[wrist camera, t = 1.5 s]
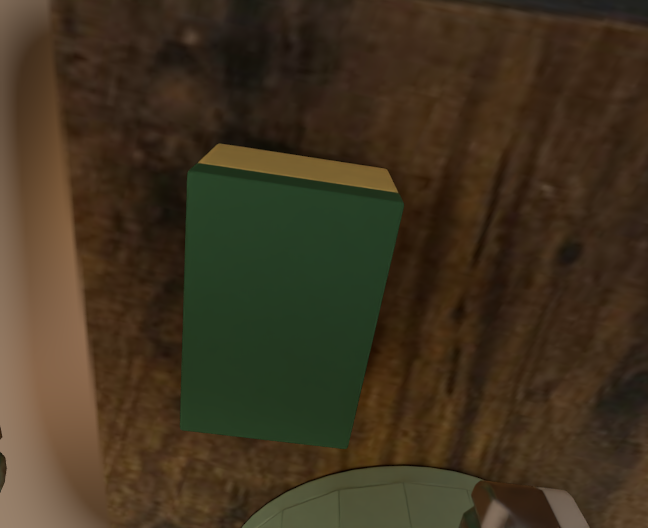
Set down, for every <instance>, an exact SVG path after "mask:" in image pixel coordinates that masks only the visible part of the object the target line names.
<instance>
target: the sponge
mask: <svg viewBox="0 0 648 528" xmlns="http://www.w3.org/2000/svg"><path fill="white" fill-rule="evenodd" d="M403 208H404V203H403V200H402V198H401V196H400V194H399V193H398V191H397V189H396V187H395V185H394V183H393V180H392V178H391V176H390V174H389V172H388V170H387V169H384V168H378V167H371V166H364V165H358V164H351V163H345V162H338V161H332V160H325V159H318V158H312V157H305V156H299V155H292V154H286V153H279V152H273V151H266V150H259V149H253V148H246V147H240V146H233V145H227V144H217V145H216V146H215V147H214V148H213V149H212V150H211V151H210V152H209V153H208V154H207V155H205V156H204V157H203V158H202V159H201V160H200V161H199V162H198V163H197V164H195V165H194V166H193V167H192V168H191V169H190V170H189V171H188V173H187V199H186V233H185V267H184V302H183V336H182V370H181V405H180V429H181V430H184V431H193V432H202V433H210V434H219V435H228V436H236V437H245V438H254V439H262V440H271V441H280V442H288V443H297V444H306V445H314V446H323V447H332V448H340V449H347V447H348V444H349V440H350V436H351V432H352V427H353V423H354V419H355V414H356V410H357V406H358V402H359V397H360V393H361V389H362V384H363V380H364V376H365V371H366V367H367V363H368V359H369V354H370V350H371V346H372V341H373V337H374V333H375V329H376V324H377V320H378V316H379V311H380V307H381V303H382V299H383V294H384V290H385V286H386V281H387V277H388V273H389V269H390V264H391V260H392V256H393V251H394V247H395V243H396V238H397V234H398V230H399V226H400V221H401V217H402V213H403Z"/></svg>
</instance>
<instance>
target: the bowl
mask: <svg viewBox="0 0 648 528" xmlns="http://www.w3.org/2000/svg"><path fill="white" fill-rule="evenodd" d="M480 480H482V479H480V478H477V477H473V476H470V475H466V474H463V473H459V472H455V471H449V470H443V469H437V468H431V467H417V466H380V467H372V468H364V469H356V470H350V471H346V472H342V473H337V474H333V475H329V476H326V477H323V478H320V479H317V480H314V481H311V482H308V483H305V484H303V485H301V486H299V487H296V488H294V489H292V490H290V491H288V492H286V493H284V494H282V495H281V496H279V497H277V498H276V499H274V500H272V501H271V502H269V503H268V504H266V505H265V506H264V507H263V508H261V509H260V510H259V511H258V512H256V513H255V514H254V515H253V516H252V517H251V518H250V519H249V520H248V521H247V522H246V523H245V524H244V525H243V526H242V527H241V528H459V524H460V521H461V519H462V516H463V513H464V512H466V511H467V510H469V509H470V508H472V507H473V506H474V504H473V501H472V498H471V493H472V491H473V489H474V486H475V485H476V484H477V483H478V482H479V481H480ZM484 481H485V480H484Z"/></svg>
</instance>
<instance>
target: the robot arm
mask: <svg viewBox="0 0 648 528" xmlns="http://www.w3.org/2000/svg"><path fill="white" fill-rule="evenodd" d="M1 438H2V433H1V428H0V439H1ZM6 469H7V468H6V460H5V457H4V455H2V453H1V452H0V492H1V489H2V487H3V485H4V482H5V475H6ZM471 498H472V501H473V504H474V506H473V507H472V508H470V509H469V510H467V511H466V512H464V513H463V516H462V519H461V521H460V524H459V528H590V527H589V526H588V524H587V522H586V520H585V518H584V517H583V515H582V513H581V511H580V510H579V508H578V506H577V504H576V503H575V501H574V499H573V497H572V496H571V495H570V494H569V493H568V492H567V491H565V490H560V489H552V488H543V487H533V486H527V485H518V484H510V483H501V482H492V481H484V480H480V481H479V482H478V483H477V484H476V485H475V486H474V489H473V491H472V493H471Z"/></svg>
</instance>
